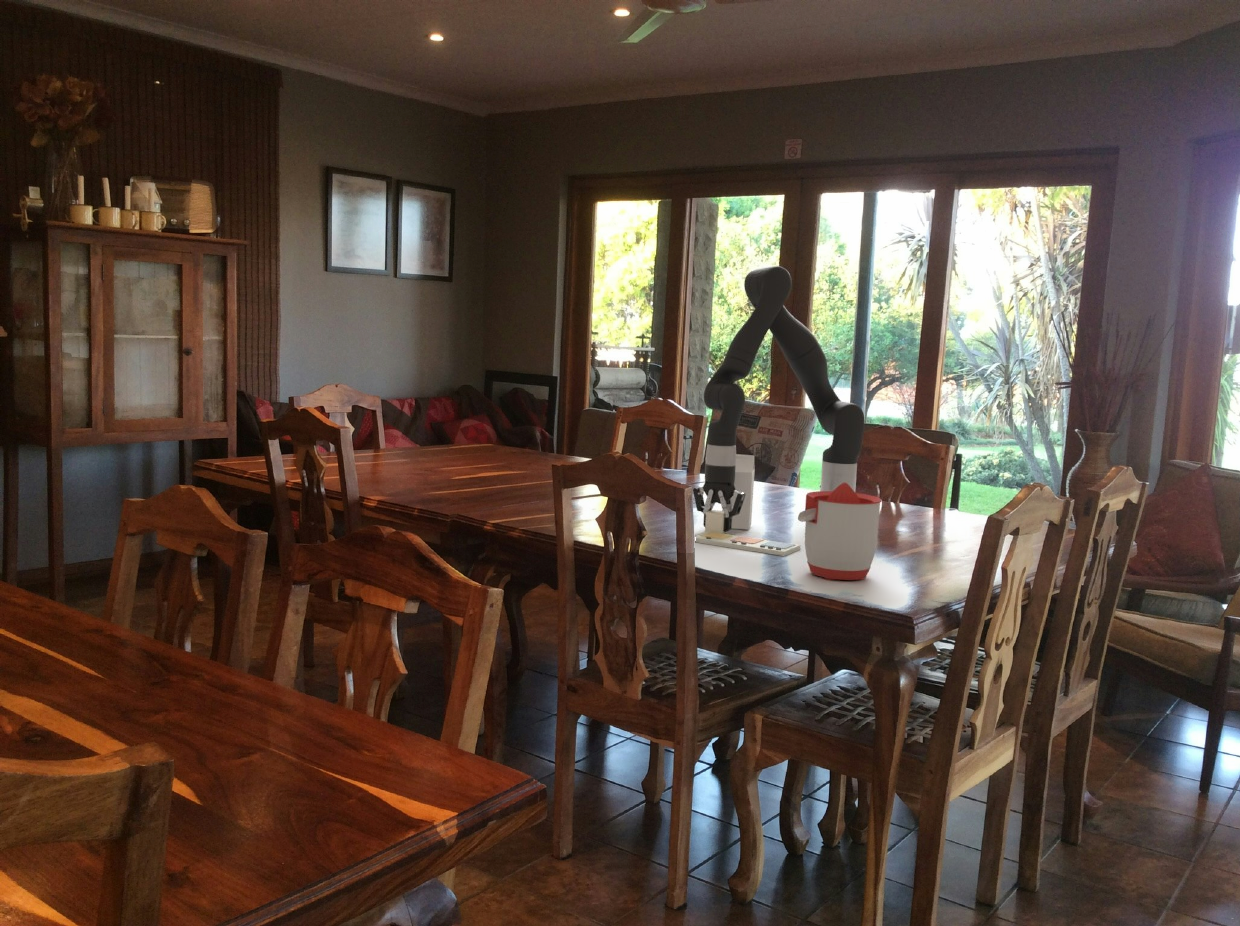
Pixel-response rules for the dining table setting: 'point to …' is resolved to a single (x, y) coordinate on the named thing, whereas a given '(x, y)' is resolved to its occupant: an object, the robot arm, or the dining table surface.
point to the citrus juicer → (840, 532)
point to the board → (747, 543)
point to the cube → (715, 521)
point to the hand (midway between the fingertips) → (717, 529)
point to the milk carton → (744, 490)
